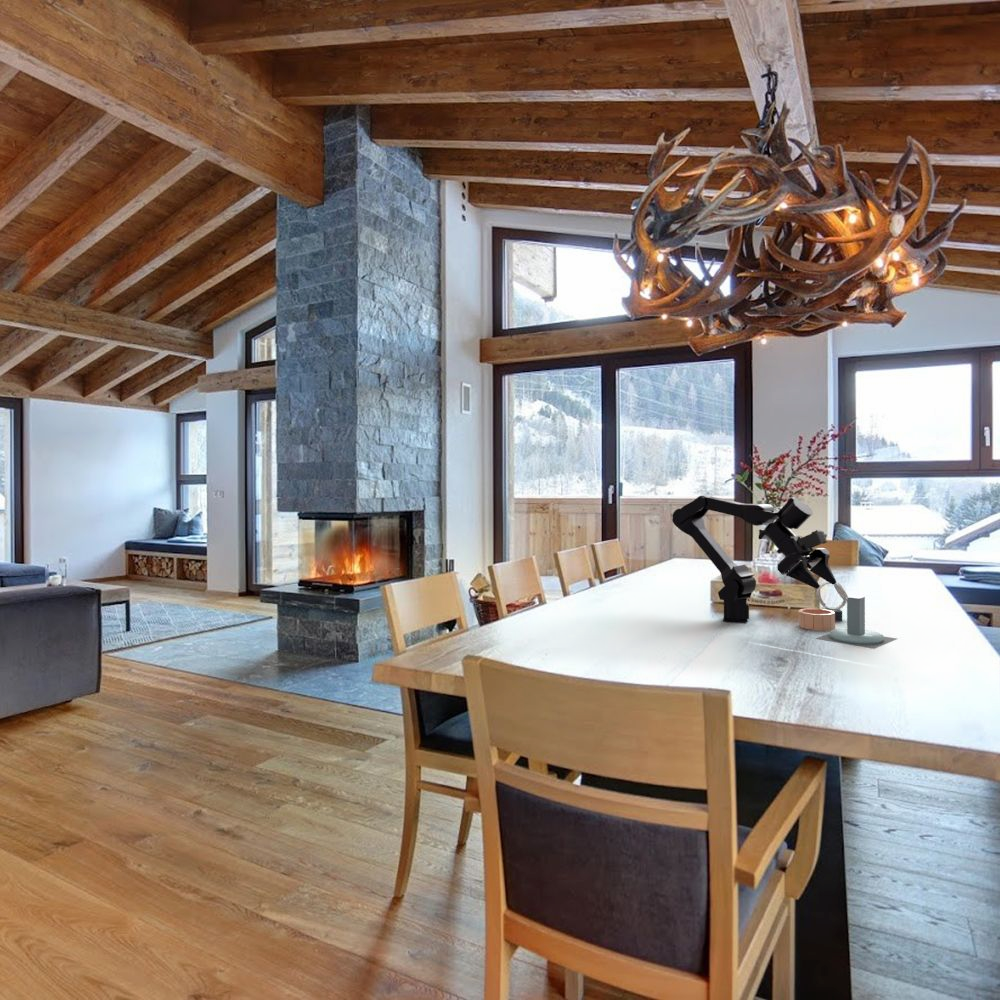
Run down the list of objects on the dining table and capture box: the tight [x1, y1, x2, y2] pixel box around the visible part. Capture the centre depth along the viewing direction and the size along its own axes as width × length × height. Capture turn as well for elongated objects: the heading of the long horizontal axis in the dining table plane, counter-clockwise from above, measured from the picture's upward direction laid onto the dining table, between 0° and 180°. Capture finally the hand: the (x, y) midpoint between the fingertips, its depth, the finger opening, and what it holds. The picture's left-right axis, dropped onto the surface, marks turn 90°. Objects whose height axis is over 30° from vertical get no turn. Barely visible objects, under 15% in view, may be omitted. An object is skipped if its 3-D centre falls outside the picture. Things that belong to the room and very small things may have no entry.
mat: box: [814, 633, 898, 650], centre depth 169 cm, size 14×14×1 cm
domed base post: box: [828, 595, 885, 644], centre depth 169 cm, size 12×12×10 cm
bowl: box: [798, 607, 836, 632], centre depth 183 cm, size 9×9×4 cm
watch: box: [815, 581, 849, 622], centre depth 193 cm, size 6×8×11 cm
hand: (826, 585), depth 174 cm, fingers open, 9 cm apart
